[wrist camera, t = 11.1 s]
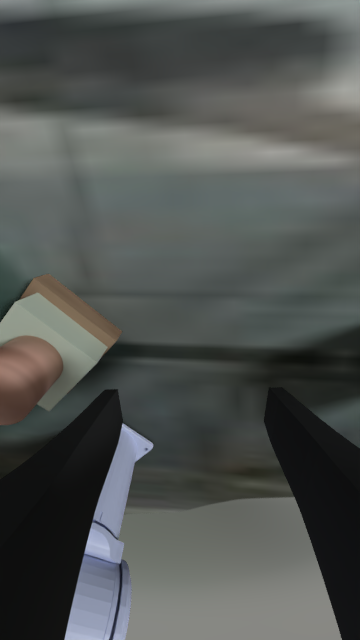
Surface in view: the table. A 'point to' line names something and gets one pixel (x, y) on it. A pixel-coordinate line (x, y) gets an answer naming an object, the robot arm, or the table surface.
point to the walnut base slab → (74, 309)
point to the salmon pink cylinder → (26, 375)
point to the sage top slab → (54, 341)
